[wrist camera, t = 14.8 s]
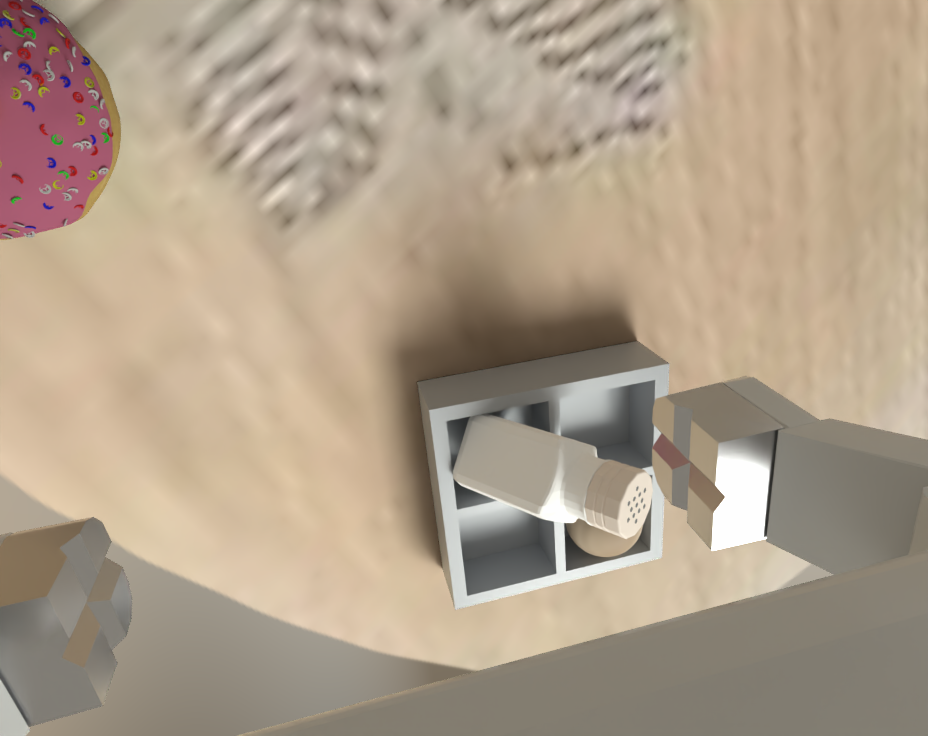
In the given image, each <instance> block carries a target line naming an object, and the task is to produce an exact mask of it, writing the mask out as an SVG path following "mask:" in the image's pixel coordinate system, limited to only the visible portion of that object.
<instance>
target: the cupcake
mask: <svg viewBox="0 0 928 736" xmlns="http://www.w3.org/2000/svg"><path fill="white" fill-rule="evenodd" d="M120 140H121V124H120V117H119V113H118V110H117V107H116V104H115V101H114V98H113V95H112V91H111V88H110V84H109V82H108V79H107V77H106V75H105V74H104V72H103V71H102V69H101V68H100V67H99V65H98V64H97V63H96V62H95V61H94V59H93V58H92V57H91V56H90V55H89V54H88V52H87V51H86V50H85V49H84V48H83V47H82V46H81V45H80V44H79V43H78V42H77V41H76V40H75V39H74V38H73V37H72V35H71V34H70V32H69V31H68V29H67V28H66V27H65V25H64V24H63V23H62V22H61V21H60V20H59V19H58V18H57V17H55V16H54V15H53V14H52V13H50V12H49V11H48V10H46V9H45V8H43V7H42V6H40V5H39V4H37V3H35V2H34V1H32V0H0V240H7V239H13V238H18V237H23V236H26V237H29V238H32V237H34V236H35V233H39V232H43V231H47V230H51V229H55V228H59V227H63V226H66V225H69V224H71V223H73V222H75V221H78V220H80V219H81V218H83V217H84V216H85V215H86V214H87V213H88V212H89V210H90V209H91V207H92V206H93V204H94V203H95V202H96V200H97V199H98V197H99V196H100V195H101V193H102V192H103V190H104V188H105V186H106V184H107V182H108V180H109V178H110V176H111V174H112V172H113V170H114V167H115V164H116V161H117V158H118V153H119V148H120Z"/></svg>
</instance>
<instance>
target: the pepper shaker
mask: <svg viewBox="0 0 928 736" xmlns="http://www.w3.org/2000/svg"><path fill="white" fill-rule="evenodd" d="M453 479H454V480H455V481H457V482H458V483H459V484H460V485H461V486H463V487H465V488H468V489H470V490H473V491H475V492H478V493H480V494H482V495H485V496H487V497H490V498H492V499H495V500H497V501H499V502H502V503H504V504H507V505H509V506H512V507H514V508H517V509H519V510H521V511H524V512H526V513H529V514H531V515H534V516H536V517H538V518H541V519H544V520H549V521H555V522H562V523H574V522H576V520H577V519H578V518H579V519H582V520H584V521H586V522H587V524H589V525H591V526H594V527H596V528H599V529H601V530H602V529H603V530H604V531H606V532H609V533H612V534H614V535H617V536H619V537H622V538H624V539H627V538H629V537H632V536H634V535H635V534H636V533H637V532H638V530H639V529H640V528H641V526H642V525H643V524H644V521H645V519H646V516H647V514H648V511H649V509H650V505H651V499H652V493H653V487H652V479H651V476H650V475H649V474H648V473H647V472H646V471H645V470H643V469H640V468H636V467H633V466H629V465H627V464H621V463H620V462H617V461H614V460H603V459H600V458H598V456H597V449H596V447H595V446H592V445H589V444H586V443H583V442H580V441H576V440H573V439H570V438H567V437H563V436H560V435H557V434H553V433H550V432H547V431H543V430H540V429H537V428H533V427H530V426H527V425H523V424H520V423H517V422H513V421H510V420H507V419H503V418H500V417H497V416H493V415H490V414H487V413H485V414H480V415H475V416H471V417H470V418H469V420H468V423H467V426H466V430H465V433H464V436H463V440H462V443H461V446H460V450H459V453H458V456H457V459H456V463H455V466H454V469H453Z"/></svg>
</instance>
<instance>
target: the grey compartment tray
mask: <svg viewBox="0 0 928 736" xmlns="http://www.w3.org/2000/svg"><path fill="white" fill-rule="evenodd" d="M417 385H418V392H419V399H420V407H421V414H422V421H423V429H424V436H425V443H426V451H427V458H428V465H429V473H430V480H431V487H432V495H433V502H434V509H435V516H436V524H437V531H438V538H439V546H440V553H441V560H442V568H443V572H444V575H445V578H446V582H447V585H448V588H449V591H450V594H451V598H452V601H453V604H454V607H455V610H456V609H460V608H464V607H468V606H472V605H476V604H480V603H484V602H488V601H492V600H496V599H500V598H504V597H508V596H512V595H516V594H520V593H524V592H528V591H532V590H536V589H540V588H544V587H548V586H552V585H556V584H560V583H564V582H568V581H572V580H576V579H580V578H584V577H588V576H592V575H596V574H600V573H604V572H608V571H612V570H616V569H620V568H624V567H628V566H632V565H636V564H640V563H643V562H647V561H651V560H655V559H659V558H662V543H663V517H664V495H663V493H662V491H661V489H660V488H659V486H658V484H657V481H656V477H655V474H654V470H653V466H652V447H653V445H654V444H655V442H656V441H657V439H658V438H659V436H660V435H661V432H660V431H659V430H658V429H657V428H656V427H655V425H654V424H653V423H652V416H653V406H654V403H655V400H656V398H659V397H663V396H667V395H668V385H669V363H668V362H666V361H665V360H664V359H662V358H661V357H659V356H658V355H657V354H655V353H654V352H652V351H651V350H650V349H648V348H647V347H645V346H644V345H643V344H641V343H640V342H638V341H635V342H629V343H624V344H619V345H613V346H608V347H602V348H597V349H592V350H586V351H581V352H575V353H570V354H565V355H559V356H554V357H549V358H543V359H538V360H532V361H527V362H522V363H516V364H511V365H505V366H500V367H495V368H489V369H484V370H478V371H473V372H468V373H462V374H457V375H452V376H446V377H441V378H435V379H430V380H425V381H419V382H417ZM485 413H487V414H490V415H493V416H497V417H500V418H503V419H507V420H510V421H513V422H517V423H520V424H523V425H527V426H530V427H533V428H537V429H540V430H543V431H547V432H550V433H553V434H557V435H560V436H563V437H567V438H570V439H573V440H576V441H580V442H583V443H586V444H589V445H592V446H595V447H596V449H597V456H598V458H600V459H603V460H614V461H617V462H620V463H621V464H627V465H629V466H633V467H636V468H640V469H643V470H645V471H646V472H647V473H648V474H649V475H650V476H651V479H652V487H653V493H652V499H651V505H650V509H649V511H648V514H647V516H646V519H645V521H644V524H643V527H642V531H641V534H640V536H639V538H638V540H637V541H636V543H635V544H634V545H633V546H632V547H631V548H630V549H629V550H627V551H626V552H624V553H622V554H620V555H617V556H612V557H599V556H595V555H592V554H589V553H587V552H585V551H584V550H582V549H581V548H580V547H579V546H577V545H576V544H575V542H574V541H573V540H572V538H571V537H570V535H569V533H568V531H567V528H566V524H565V523H562V522H555V521H549V520H544V519H541V518H538V517H536V516H534V515H531V514H529V513H526V512H524V511H521V510H519V509H517V508H514V507H512V506H509V505H507V504H504V503H502V502H499V501H497V500H495V499H492V498H490V497H487V496H485V495H482V494H480V493H478V492H475V491H473V490H470V489H468V488H465V487H463V486H461V485H460V484H459V483H458V482H457V481H455V480H454V479H453V469H454V466H455V463H456V459H457V456H458V453H459V450H460V446H461V443H462V440H463V436H464V433H465V430H466V426H467V423H468V420H469V418H470V417H471V416H475V415H480V414H485Z"/></svg>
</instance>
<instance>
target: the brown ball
mask: <svg viewBox="0 0 928 736" xmlns="http://www.w3.org/2000/svg"><path fill="white" fill-rule="evenodd" d="M565 524H566V528H567V531H568V533H569V535H570V537H571V538H572V540H573V541H574V542H575V544H576V545H577V546H579V547H580V548H581V549H582V550H584V551H585V552H587V553H589V554H592V555H595V556H599V557H612V556H617V555H620V554H622V553H624V552H626V551H627V550H629V549H630V548H631V547H632V546H633V545H634V544H635V543H636V541H637V540H638V538H639V536H640V534H641V531H642V527H643V525H642V526H641V528H640V529H639V530H638V532H637V533H636V534H635V535H634V536H632V537H629V538H627V539H624V538H622V537H619V536H617V535H614V534H612V533H609V532H606V531H604V530H603V529H602V530H601V529H599V528H596V527H594V526H591V525H589V524H587V522H586V521H584V520H582V519H579V518H578V519H577V520H576V522H574V523H565Z"/></svg>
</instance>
